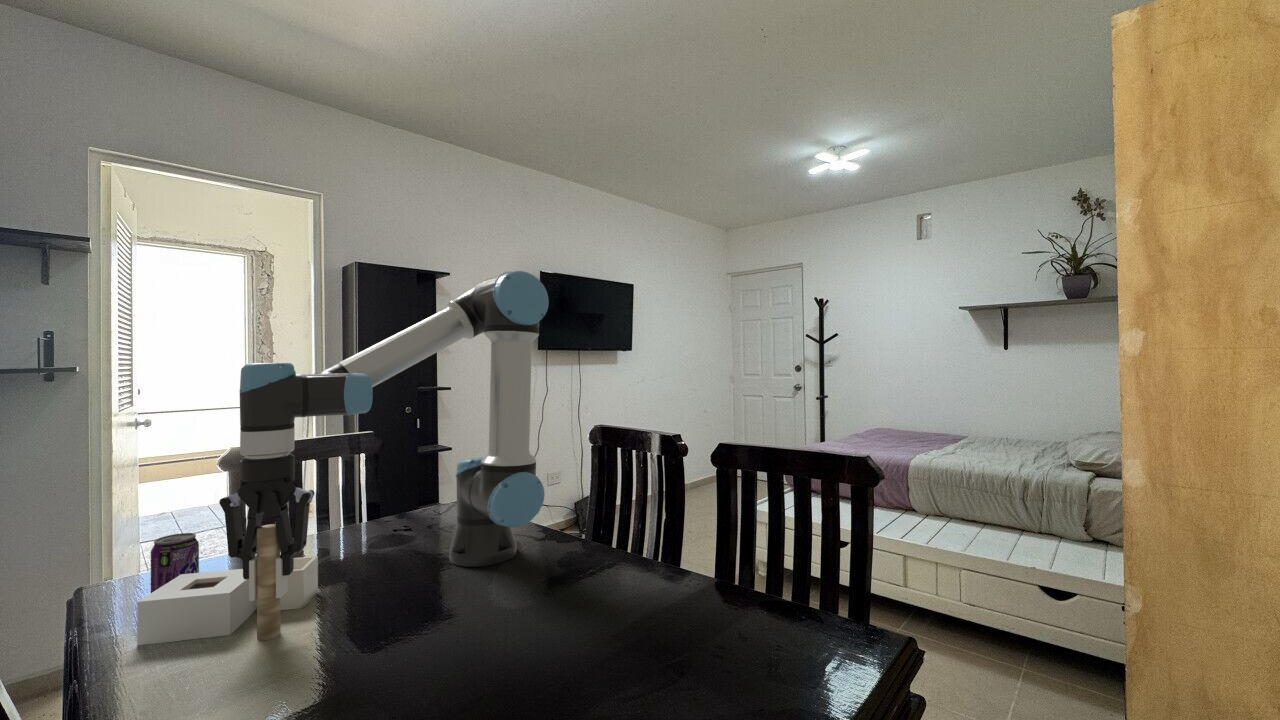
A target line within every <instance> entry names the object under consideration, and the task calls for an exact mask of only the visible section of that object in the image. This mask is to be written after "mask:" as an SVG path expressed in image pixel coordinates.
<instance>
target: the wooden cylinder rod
mask: <svg viewBox="0 0 1280 720" xmlns="http://www.w3.org/2000/svg"><path fill="white" fill-rule="evenodd" d="M280 555H281V552H280V547H279V542H278V536H277V531H276V526H275V523H270V524H265V525H261V527H258V528H257V554H256V556H257V610H256V633H257V634H256V638H257V640H258V641H267V640H268V641H269V640H273V639H275V638H277V637H278V636H280V635H281V631H282V630H281V610H280V598H276V558H277V557H279V556H280Z"/></svg>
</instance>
